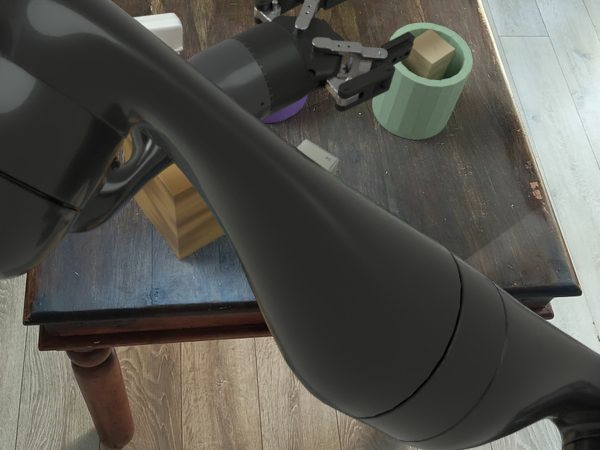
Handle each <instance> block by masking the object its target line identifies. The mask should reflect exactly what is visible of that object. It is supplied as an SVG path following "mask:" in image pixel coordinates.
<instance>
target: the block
mask: <svg viewBox="0 0 600 450" xmlns="http://www.w3.org/2000/svg"><path fill="white" fill-rule="evenodd" d="M413 43H414V44H413V47H412V50H411V53H410V55H409V57H408V58H406V59H404V60H402V62H401V63H402V64H403V65H404V66H405V67H406V68H407V69H408V70H409V71H410V72H412V73H414V74H415V75H417V76H419V77H423V78H426V79H430V80H443V77H444V75H445V72H446V70H447V67H448V65H449V63H450V60H451V58H452V55H453V53H454V50H455V48H454V47H452V46H451V45H450V44H449V43H448V42H446V41H445V40H444V39H443V38H441V37H440V36H439V35H438V34H436V33H435V32H434V31H433V30H432V29H429V30H428V31H426V32H424V33H423V34H421V35H420V36H418V37H417V38H415V39H414V42H413Z"/></svg>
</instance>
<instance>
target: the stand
mask: <svg viewBox="0 0 600 450" xmlns="http://www.w3.org/2000/svg"><path fill="white" fill-rule="evenodd" d="M121 147H122V151H123V156H124V163H126V162H127V161H128V160H129V158H130V156H131V153H132V139H131V135H130V133H129V135H128V136H127V138H126V139H124V143H123V145H122V146H121ZM133 200H134V201H135V203H136V204H137V206H139V208H140V209H141V210H142V212H143V213H144V215H145V216H146V217H147V218H148V220H149V221H150V223H151V224H152V225H153V226H154V228H155V229H156V231H157V232H158V233H159V235H160V236H161V237H162V239H163V240H164V241H165V243H166V244H167V246H169V249H171V251H172V252H173V253H174V256H176V258H177V259H178V260H179V261H181V260H183V259H185V258H187V257H188V256H190V255H192V254H193V253H195V252H197V251H198V250H200V249H202V248H203V247H205V246H207V245H209V244H210V243H212V242H214V241H215V240H217V239H219V238H221V237H222V236H225V234H224V232H223V230H222V229H221V227H220V225H219V224H218V222H217V220H216V219H215V217H214V215H213V214H212V212H211V211H210V209H209V208H208V206H207V205H206V203H205V202H204V200H203V199H202V197H201V196H200V195H199V193H198V192H197V191H196V189H195V188H194V187H193V186H192V184H191V183H190V182H189V180H188V179H187V178H186V176H185V175H184V174H183V173H182V171H181V170H180V169H179V168H178V167H177V166H176V165H175V164H173V165H171V166H170V167H168V168H167V169H165V170H164V171H163V172H161V173H160V174H159V175H157V176H156V177H155V178H154V179H153V180H152V181H150V182H149V183H148V184H147V185H146V186H145V187H144V188H143V189H141V190H140V191H139V192H138V193H137V194H136V195H135V197H134V198H133Z"/></svg>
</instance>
